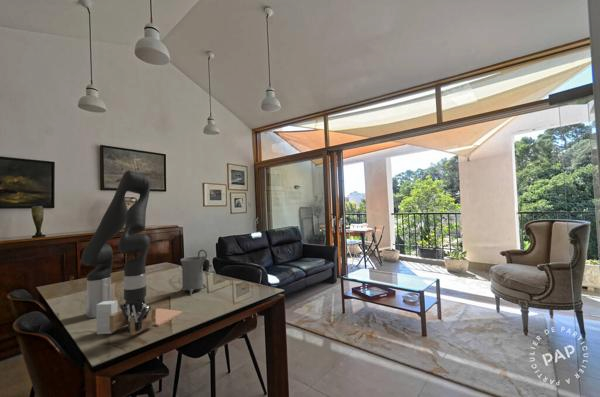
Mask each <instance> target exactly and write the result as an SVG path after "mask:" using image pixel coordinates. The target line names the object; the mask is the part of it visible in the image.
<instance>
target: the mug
mask: <svg viewBox="0 0 600 397" xmlns="http://www.w3.org/2000/svg"><path fill="white" fill-rule="evenodd" d="M201 252H204V254H205V255H203V256H201V255H200V253H201ZM207 258H208V252H207V251H206V249H200V250H199V251H198V252H197V256H196V255H195V256H188V257H183V258H180V260H179V261H180V264H181V269H182V270H181V271H182V272H181V274H182V275H181V276H182V277H181V279H182V286H181V289H180V290H181V291H189V295H190V296H191V295H193V292H194V290H198V289H201V288H207V286H206V283H204V272H203V271H204V270H203V268H204V266H203V265H204V263H205V261H206V260H207Z"/></svg>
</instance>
